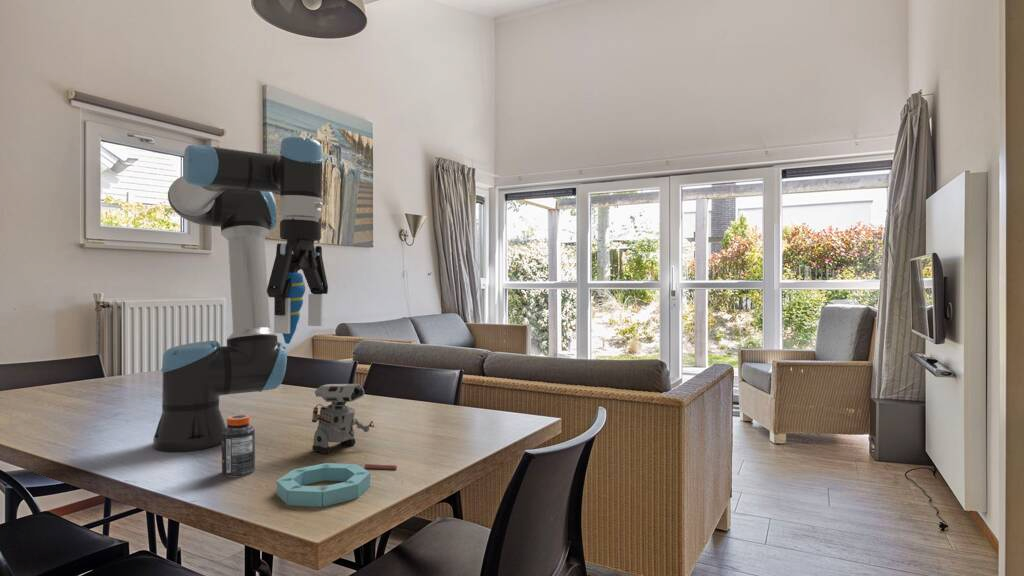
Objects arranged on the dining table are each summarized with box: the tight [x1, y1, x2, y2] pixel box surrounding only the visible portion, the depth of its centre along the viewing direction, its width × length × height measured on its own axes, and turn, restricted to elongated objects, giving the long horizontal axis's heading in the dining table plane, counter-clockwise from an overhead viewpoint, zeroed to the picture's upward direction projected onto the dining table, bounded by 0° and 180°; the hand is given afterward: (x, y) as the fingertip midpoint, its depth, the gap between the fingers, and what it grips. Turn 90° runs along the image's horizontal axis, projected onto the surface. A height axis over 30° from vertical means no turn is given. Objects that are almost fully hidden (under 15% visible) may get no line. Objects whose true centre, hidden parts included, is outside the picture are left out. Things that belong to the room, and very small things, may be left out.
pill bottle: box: [221, 414, 256, 478], centre depth 114 cm, size 6×6×11 cm
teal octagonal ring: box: [276, 462, 371, 508], centre depth 105 cm, size 15×15×2 cm
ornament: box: [281, 272, 306, 345], centre depth 108 cm, size 5×5×15 cm
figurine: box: [311, 383, 375, 455], centre depth 130 cm, size 9×12×15 cm
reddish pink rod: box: [363, 463, 398, 470], centre depth 117 cm, size 7×1×1 cm, turn 83°
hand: (299, 329), depth 112 cm, fingers open, 13 cm apart
